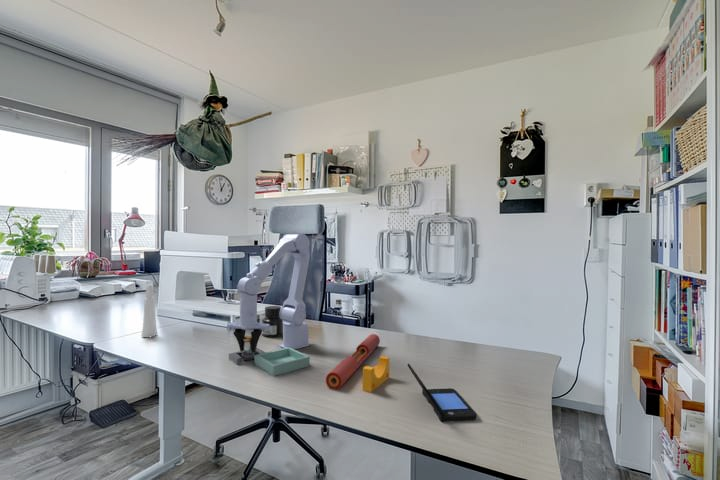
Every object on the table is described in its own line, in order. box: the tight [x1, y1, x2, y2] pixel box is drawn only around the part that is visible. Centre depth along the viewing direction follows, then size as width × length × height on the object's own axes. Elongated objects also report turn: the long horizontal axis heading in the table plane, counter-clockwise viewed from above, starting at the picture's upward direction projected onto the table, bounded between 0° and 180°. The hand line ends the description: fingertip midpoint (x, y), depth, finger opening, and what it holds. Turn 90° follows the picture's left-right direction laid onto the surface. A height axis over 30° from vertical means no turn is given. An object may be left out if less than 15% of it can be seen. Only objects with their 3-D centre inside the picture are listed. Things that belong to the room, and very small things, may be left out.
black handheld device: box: [407, 363, 478, 423], centre depth 88 cm, size 16×14×9 cm
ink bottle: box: [261, 305, 283, 338], centre depth 151 cm, size 10×9×12 cm
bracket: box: [228, 347, 266, 365], centre depth 122 cm, size 10×7×2 cm
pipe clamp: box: [362, 355, 390, 394], centre depth 102 cm, size 12×4×6 cm, turn 150°
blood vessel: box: [325, 333, 381, 390], centre depth 117 cm, size 42×5×5 cm, turn 162°
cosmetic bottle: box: [140, 283, 158, 338], centre depth 148 cm, size 6×6×22 cm
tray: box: [254, 347, 311, 377], centre depth 115 cm, size 13×13×3 cm
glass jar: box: [242, 335, 255, 361], centre depth 121 cm, size 4×4×7 cm
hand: (248, 350), depth 121 cm, fingers closed on glass jar, 4 cm apart
